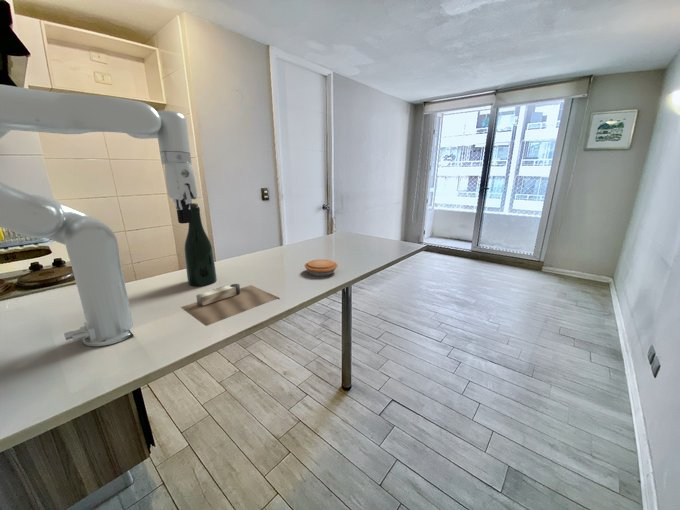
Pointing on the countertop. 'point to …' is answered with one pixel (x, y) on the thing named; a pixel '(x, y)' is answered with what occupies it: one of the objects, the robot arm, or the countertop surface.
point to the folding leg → (218, 294)
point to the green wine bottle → (198, 252)
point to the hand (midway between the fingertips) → (185, 222)
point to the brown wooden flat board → (229, 305)
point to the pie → (321, 267)
